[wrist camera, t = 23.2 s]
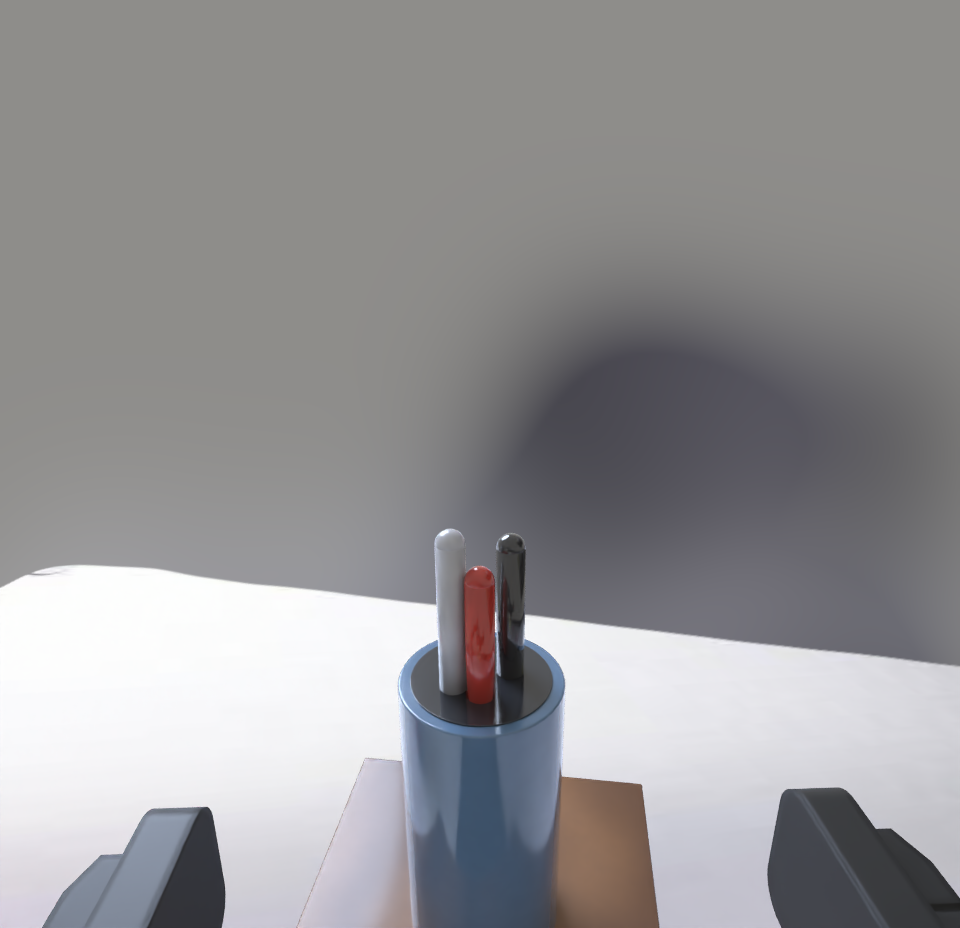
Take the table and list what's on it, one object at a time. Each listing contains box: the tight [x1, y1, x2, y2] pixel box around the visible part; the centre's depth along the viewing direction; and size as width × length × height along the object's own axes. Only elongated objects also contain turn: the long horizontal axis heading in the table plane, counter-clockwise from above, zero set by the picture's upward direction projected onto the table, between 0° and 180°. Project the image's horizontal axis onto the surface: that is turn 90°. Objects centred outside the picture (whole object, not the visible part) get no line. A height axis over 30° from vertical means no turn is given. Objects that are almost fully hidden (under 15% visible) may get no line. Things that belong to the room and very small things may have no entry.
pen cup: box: [398, 529, 565, 928], centre depth 22 cm, size 5×5×16 cm
